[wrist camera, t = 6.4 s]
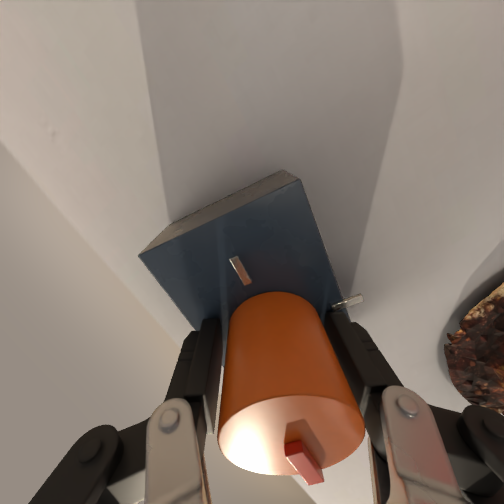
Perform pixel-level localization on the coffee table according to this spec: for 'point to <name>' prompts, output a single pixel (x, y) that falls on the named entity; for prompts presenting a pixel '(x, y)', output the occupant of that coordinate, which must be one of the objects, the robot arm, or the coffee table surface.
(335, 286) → the dial base block
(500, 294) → the cactus
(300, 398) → the dial knob
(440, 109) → the coffee table surface
